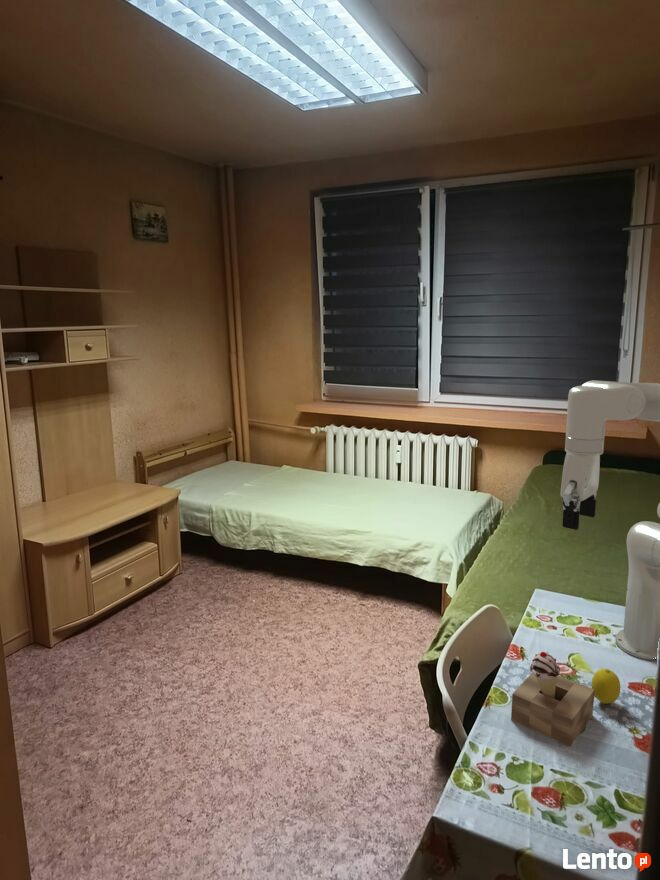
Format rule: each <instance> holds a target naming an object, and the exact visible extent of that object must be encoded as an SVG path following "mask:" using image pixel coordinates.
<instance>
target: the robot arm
mask: <svg viewBox="0 0 660 880" xmlns="http://www.w3.org/2000/svg"><path fill="white" fill-rule="evenodd" d="M566 412H567V414H566V426H565V427H566V429H565V442H564V443H565V445H564V451H565V452H566V454H565V457H564V463H563V468H562V474H561V475H562V476H561V485H560V497H561V498H563V499H562V500H563V502H562V504H563V506H562V510H563V511H562V528H565V529H570V530H575V531H578V530H579V526H580V516H584V517H588V518H589V517H590V518H594V517H595V516H596V510H597V509H596V506H597V500H596V499H597V496H598V495H597V492H598V489H599V483H600V469H601V467H600V463H601V455H603V454H604V447H605V436H606V435H605V434H606V421H608V420H609V421H629V420H632V419H633V420H634V419H638V420H642V421H650V422H659V423H660V383H657V382H625V381H624V382H623V381H610V380H593V379H592V380H589V381H588V380H587V381H586V382H584V383H583V384H581V385H576V386H574V387H572V388H571V389H569V391H568V397H567V411H566ZM574 502H575V503H574ZM656 510H657V511H656V512H657V513H656V514H657V516H658V518H659V519H660V502H659V503H658V506H657V509H656ZM626 551H627V558H628V576H627V587H626V596H625V607H624V619H623V630H620V631H619V632H617V633H616V635H615V644H616V645H617V646H618V647H619V649H621V650H622V651H624V652H625V653H627V654H629V655H631V656H634V657H636V658H639V659H643V660H648V661H658V660H657V648H658V641H659V638H660V523H657V522H654V521H645V520H643V521H639V522H636V523H635V524H634V525H632V526H631V527H630V529H629V531H628V533H627V536H626ZM655 657H656V660H655ZM653 658H654V660H653Z"/></svg>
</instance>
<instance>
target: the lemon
mask: <svg viewBox="0 0 660 880" xmlns="http://www.w3.org/2000/svg"><path fill="white" fill-rule="evenodd" d="M591 688H592V689H595V692H594V698H595V699H597V700H598V701H600V702H601V703H602V704H604V705H605V704H612V703H615V702H616V701H617V700H618V699H619V697H620V693H621V681H620V679H619V676H618V675H617V674H616V673H615V672H614V671H613V670H610V669H609V668H600V669H598V670H597V671H595V673H594V675H593V677H592V679H591Z"/></svg>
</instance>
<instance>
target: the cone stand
mask: <svg viewBox="0 0 660 880" xmlns="http://www.w3.org/2000/svg"><path fill="white" fill-rule="evenodd" d="M594 692H595V689H592V687H589V686H587V685H584V684H581V683H579V682H577V681H574V680H571V679H569V678H566V677H563V676H561V675H560V674H559V675H558V676H557V679H556V688H555V697H554V699H553V698H551V697H548V696H546V695H543V693H542V691H541V688H540V686H539V683H538V681H537V678H536V676H535V675H534V674H533V673H532V672H531V673H530V675H528V677H526V679H525V680H523V682H522V683H520V685H519V686H518V687H517V688H516V689H515V691H514V692H513V693H512V694H511V696H512V697H511V710H510V711H511V713H510V715H511V717H510V720H511V721H512V722H515V723H516V724H520V725H522V726H523V725H524V726H523V727H526V728H527V727H528V728H527V729H529V730H532V731H533V732H536V733H539V734H540V735H543V736H545V737H548V738H550V739H552V740H553V741H556V742H558V743H560V744H562V745H564V746H567V747H569V748H571V747H572V745H573V744H574V743H575V741H576V740H577V738H578V737H579V735H580V734H581V733H582V732H583V730H584V729H585V727H586V726H587V724H588V723H589V721H590V720H591V718H592V717H593V714H594V704H595V703H594V701H595V696H594Z"/></svg>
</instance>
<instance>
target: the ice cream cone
mask: <svg viewBox="0 0 660 880" xmlns="http://www.w3.org/2000/svg"><path fill="white" fill-rule="evenodd" d="M531 662H532V663H530V666H529V670H530V672H531V674H532V673H533V674H534V675H535V676H536V678H537V681H538V683H539V686H540V688H541V691H542V693H543V695H546V696H548V697H551V698H553V699H554V697H555V688H556V679H557V676H558V675H559V676H560V673H561V668H560V665H559V664H558V663H557V658H555V657H553V655H551V654H550V653H549V652H548V651H546V652H545V651H541V652H539V653H537V654H535V655H534V656H533V658H532V661H531Z"/></svg>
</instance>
